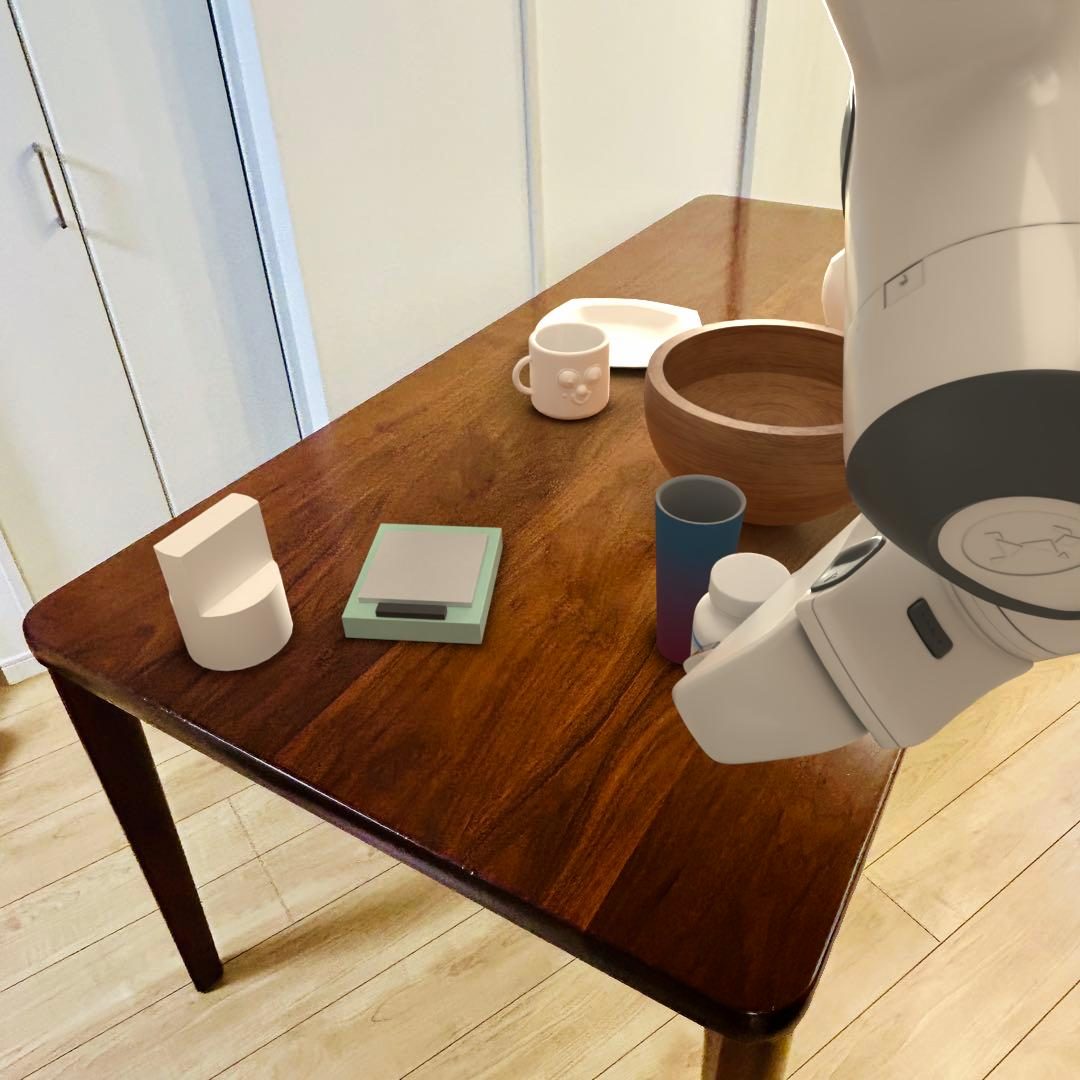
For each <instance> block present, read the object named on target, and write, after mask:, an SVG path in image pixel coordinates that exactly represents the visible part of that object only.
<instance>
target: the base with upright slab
mask: <svg viewBox="0 0 1080 1080" xmlns="http://www.w3.org/2000/svg"><path fill="white" fill-rule="evenodd" d="M153 550H154V552H155V556H156V558H157V561H158V564H159V567H160V570H161V572H162V576H163V578H164V581H165V584H166V587H167V590H168V595H169V601H170V604H171V606H172V609H173V612H174V615H175V617H176V618H175V619H176V621H177V623H178V627H179V629H180V632H181V635H182V638H183V641H184V643H185V647H186V649H187V652H188V655H189V656H190V657H191V659H192V660H193V661H194V662H195V663H196V664H198V665H199V666H201V667H202V668H204V669H205V668H206V669H209V670H212V671H221V672H231V671H238V670H239V671H240V670H244V669H247V668H248V669H249V668H251V667H254V666H255V667H256V666H257V665H260V664H262V663H263V662H265V661H268V660H270V659H271V658H272V657H274V656H275V655H277V654H278V653H279V652H280V651H281V650H282V649H283V648H284V647H285V646H286V645H287V644H288V642H289V641H290V638H291V636H292V634H293V627H294V624H293V620H292V615H291V611H290V608H289V603H288V599H287V595H286V592H285V591H286V590H285V588H284V583H283V579H282V575H281V571H280V568H279V565H278V563H277V561H275V560H274V557H273V554H272V550H271V545H270V542H269V538H268V534H267V530H266V525H265V522H264V518H263V515H262V510H261V506H260V502H259V501H258V500H257V499H255V498H254V497H251V496H249V495H247V494H246V495H245V494H241V493H237V492H231V493H230V494H228V495H227V496H226V497H223V498H222V499H221V500H219V501H218V502H217V503H215V504H213V505H212V506H210V507H209V508H207V509H206V510H205V511H203V512H201V513H200V514H199V515H197V516H196V517H195V518H193V519H191V520H190V521H188V522H186V524H184V525H182V526H181V527H180V528H178V529H176V530H175V531H173V532H172V533H170V534H169V535H167V536H166V537H165V538H163V539H161V540H160V541H159V542H157V543H156V544H154V545H153Z"/></svg>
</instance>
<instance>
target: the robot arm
mask: <svg viewBox="0 0 1080 1080" xmlns="http://www.w3.org/2000/svg"><path fill="white" fill-rule="evenodd" d="M822 2H823V4H824V6H825V8H826V10H827V13H828V16H829V19H830V21H831V23H832V25H833V27H834V30H835V32H836V35H837V37H838V39H839V42H840V45H841V47H842V49H843V51H844V54H845V56H846V59H847V61H848V65H849V67H850V85H849V90H848V91H849V92H848V94H847V95H848V97H847V102H846V107H845V112H844V116H843V121H842V128H841V135H840V144H839V178H840V197H841V198H840V200H841V206H842V207H841V208H842V215H843V220H844V248H845V275H844V349H843V452H844V460H845V466H846V484H847V488H848V491H849V494H850V496H851V498H852V500H853V502H852V503H854V504H855V506H856V508H857V509H858V511H860V513H859V514H858V515H857V516H856V517H855V518H854V519H853V520H851V522H850V523H849V524H847V525H846V526H845V527H844V528H842V529H841V531H840V532H839V533H837V535H835V536H834V537H833V538H832V539H831V540H830V541H829V542H828V543H826V544H825V546H823V547H822V548H821V549H820V550H819V551H818V552H817V553H816V554H814V556H813V557H811V559H809V560H808V561H807V562H806V563H805V564H804V565H803V566H802V567H801V568H799V569H798V570H797V571H794V572H793V573H790V575H791V578H790V579H789V580H788V581H787V582H786V583H785V584H784V585H783V586H782V587H781V588H779V589H778V590H777V591H776V592H775V593H774V594H773V595H772V596H771V597H770V598H769V599H768V600H766V601H765V602H764V603H763V604H762V605H761V606H760V607H759V608H758V609H757V610H756V611H755V612H754V613H752V614H751V615H750V616H749V617H748V618H747V619H746V620H745V621H744V622H743V623H742V624H741V625H739V626H738V627H737V628H736V629H735V630H734V631H733V632H732V633H731V634H730V635H729V636H728V637H727V638H725V639H724V640H723V641H722V642H721V643H720V641H718V642H715V643H711V644H709V645H707V646H702V647H701V648H699V649H698V650H697V651H696V652H695V653H694V654H693V655H691V656H690V657H689V658H688V659H687V660H686V661H685V662H684V664H683V665H682V666H683V670H684V671H685V673H686V674H685V675H684V676H683V677H682V678H681V679H679V680H678V681H677V682H676V683H675V685H674V686H673V688H672V689H671V697H672V702H673V704H674V705H675V708H676V710H677V712H678V714H679V716H680V718H681V720H682V721H683V723H684V725H685V726H686V728H687V730H688V731H689V733H690V734H691V736H692V737H693V738H694V740H695V741H696V743H697V744H698V746H699V747H700V748H701V749H702V750H703V752H704V753H705V754H706V755H707V756H708V757H709V758H711V760H713V761H715V762H716V763H719V764H723V765H724V764H725V765H741V764H743V765H744V764H752V763H764V762H773V761H779V760H788V759H794V758H795V759H796V758H801V757H807V756H814V755H817V754H818V755H819V754H823V753H827V752H830V751H835V750H837V749H840V748H842V747H846V746H848V745H850V744H852V743H854V742H856V741H858V740H859V739H862V738H863V737H865V736H867V735H868V734H869V733H870V735H871V737H872V738H873V740H874V741H875V742H876V743H877V744H878V746H879V747H881V748H882V749H884V750H901V749H907V748H912V747H916V746H919V745H921V744H923V743H925V742H927V741H929V740H930V739H931V738H933V737H934V736H936V735H937V734H938V733H939V732H940V731H942V730H943V729H944V728H945V727H946V726H947V725H948V724H950V723H951V722H952V721H953V720H954V719H955V718H957V717H958V716H959V715H960V714H961V713H963V712H964V711H966V709H968V708H970V707H971V706H972V705H973V704H975V703H976V702H977V701H979V700H980V699H981V698H983V697H984V696H985V695H987V694H988V693H990V692H991V691H993V690H995V689H996V688H998V687H1000V686H1002V685H1004V684H1005V683H1007V682H1008V683H1009V682H1010V681H1013V680H1014V679H1016V678H1019V677H1020V676H1022V675H1024V674H1026V673H1028V672H1029V671H1031V669H1032V668H1033V667H1034V665H1035V663H1039V662H1045V661H1049V660H1053V659H1054V660H1055V659H1059V658H1063V657H1068V656H1074V655H1078V654H1080V0H822Z"/></svg>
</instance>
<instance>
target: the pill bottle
mask: <svg viewBox="0 0 1080 1080" xmlns="http://www.w3.org/2000/svg"><path fill="white" fill-rule="evenodd" d="M790 578H791V573H790V572H789V570H788V569H787V567H785V565H784V564H783V563H780V562H779V561H778V560H776V559H774V558H772V557H770V556H767V555H764V554H759V553H753V552H737V553H736V554H732V555H729V556H726V557H724V558H722V559H720V560H719V561H718V562H716V564H715V565H714V566H713V568H712V571H711V575H710V584H709V589H708V591H709V592H708V593H707V594H706V595H704V596H703V598H702V599H701V600H700V601H699V603H698V605H697V607H696V609H695V612H694V620H693V629H692V643H691V655H693V654H694V653H695V652H696V651H697V650H698V649H699V648H701V647H702V646H707V645H709V644H711V643H715V642H718V641H720V643H721V642H722V641H723V640H724V639H725V638H727V637H728V636H729V635H730V634H731V633H732V632H733V631H734V630H735V629H736V628H737V627H738V626H739V625H741V624H742V623H743V622H744V621H745V620H746V619H747V618H748V617H749V616H750V615H751V614H752V613H754V612H755V611H756V610H757V609H758V608H759V607H760V606H761V605H762V604H763V603H764V602H765V601H766V600H768V599H769V598H770V597H771V596H772V595H773V594H774V593H775V592H776V591H777V590H778V589H779V588H781V587H782V586H783V585H784V584H785V583H786V582H787V581H788V580H789V579H790Z"/></svg>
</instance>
